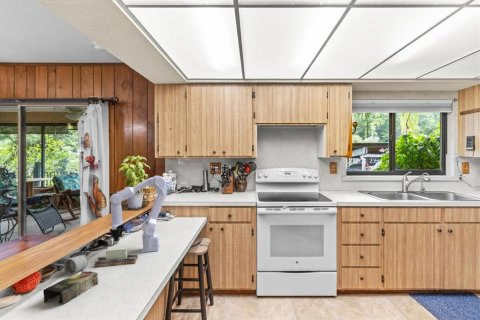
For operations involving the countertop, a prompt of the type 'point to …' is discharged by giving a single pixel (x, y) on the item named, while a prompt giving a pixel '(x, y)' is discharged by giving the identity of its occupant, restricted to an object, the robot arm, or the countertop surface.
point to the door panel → (116, 253)
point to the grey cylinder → (75, 264)
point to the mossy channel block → (71, 286)
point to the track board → (116, 261)
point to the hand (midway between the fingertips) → (118, 239)
